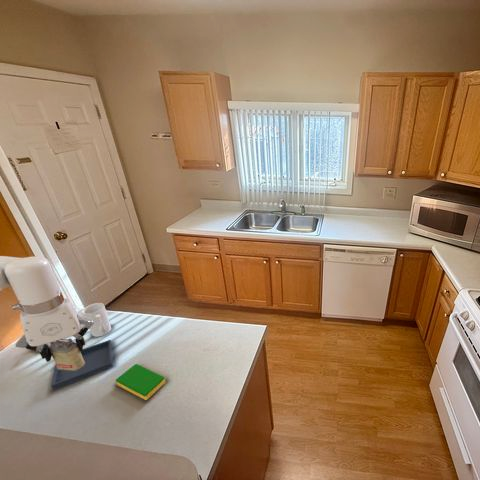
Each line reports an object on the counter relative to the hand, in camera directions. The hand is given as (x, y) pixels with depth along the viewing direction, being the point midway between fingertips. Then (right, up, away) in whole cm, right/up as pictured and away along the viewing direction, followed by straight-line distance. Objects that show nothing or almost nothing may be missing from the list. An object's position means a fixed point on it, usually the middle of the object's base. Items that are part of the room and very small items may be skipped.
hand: (65, 352), depth 74 cm
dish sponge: (+14, -16, +12) cm, 24 cm away
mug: (-16, -6, +31) cm, 35 cm away
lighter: (0, -5, +2) cm, 5 cm away
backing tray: (-10, -12, +17) cm, 24 cm away
